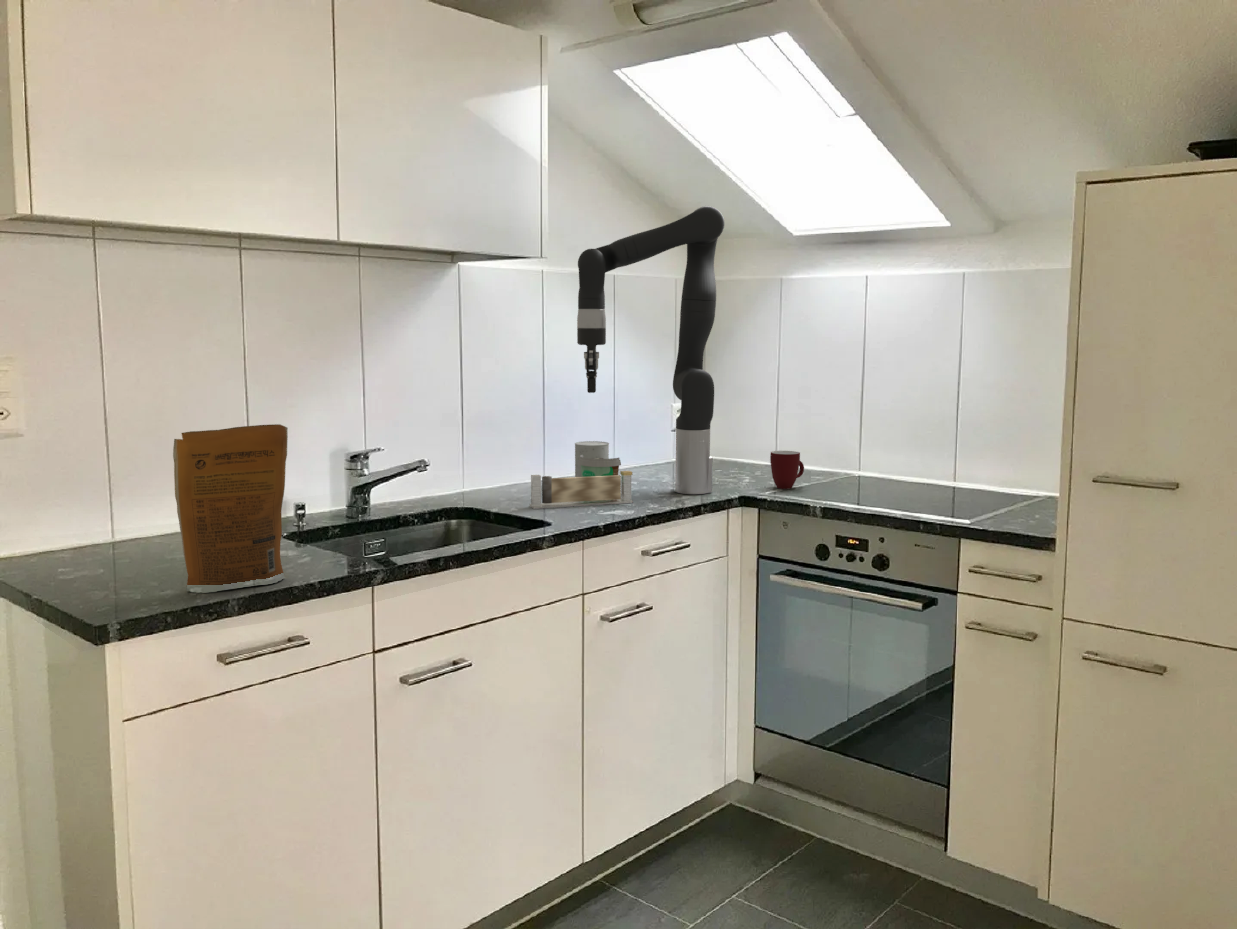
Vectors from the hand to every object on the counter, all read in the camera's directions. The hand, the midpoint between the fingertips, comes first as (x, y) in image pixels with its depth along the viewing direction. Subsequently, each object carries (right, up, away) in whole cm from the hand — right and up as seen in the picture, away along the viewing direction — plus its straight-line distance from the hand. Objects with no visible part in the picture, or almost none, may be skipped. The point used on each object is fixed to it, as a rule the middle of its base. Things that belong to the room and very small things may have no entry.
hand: (591, 392), depth 265 cm
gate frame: (-2, -29, -14) cm, 32 cm away
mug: (+54, -26, +13) cm, 61 cm away
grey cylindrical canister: (0, -26, +13) cm, 29 cm away
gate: (-2, -28, -14) cm, 32 cm away
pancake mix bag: (-58, -41, -93) cm, 117 cm away
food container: (+1, -27, +1) cm, 27 cm away
